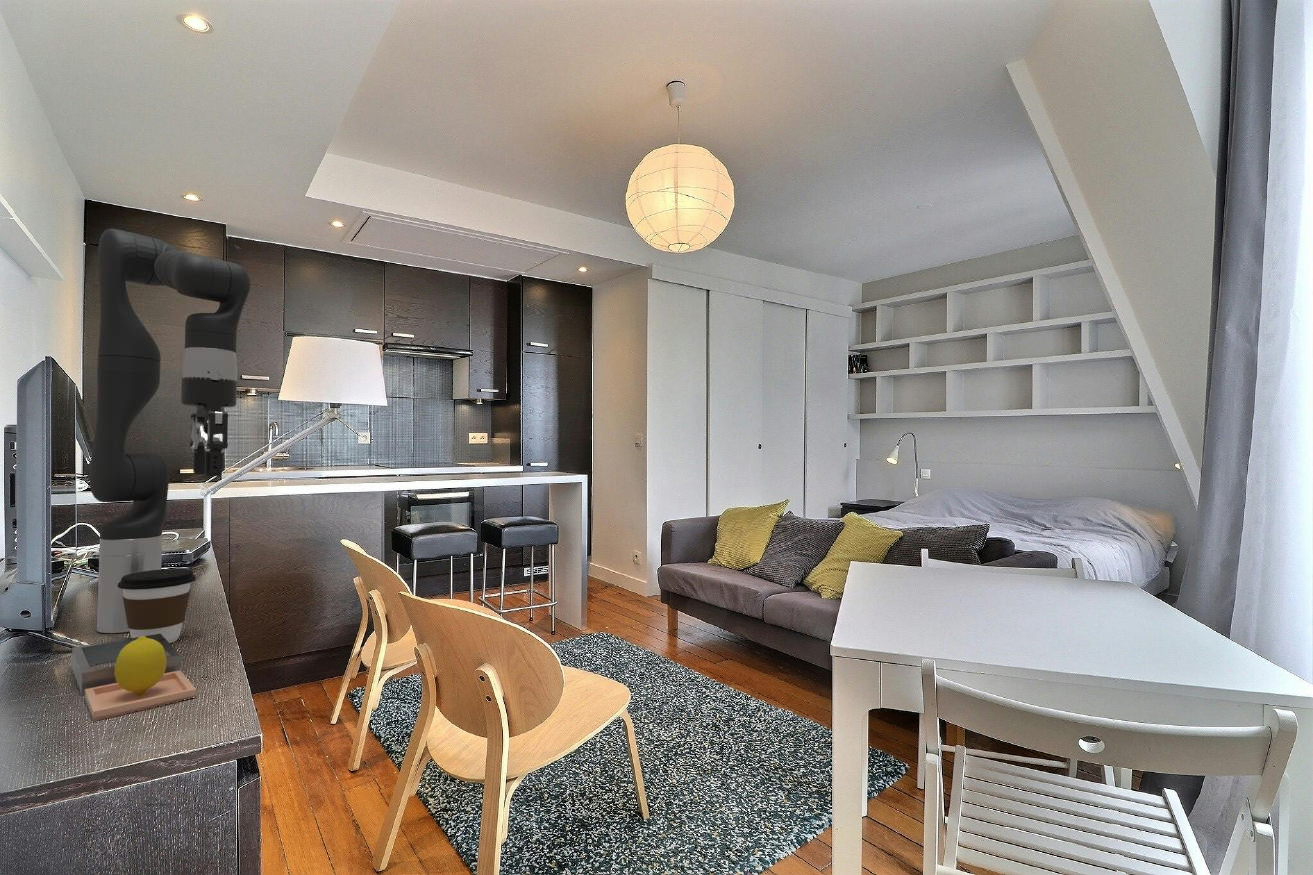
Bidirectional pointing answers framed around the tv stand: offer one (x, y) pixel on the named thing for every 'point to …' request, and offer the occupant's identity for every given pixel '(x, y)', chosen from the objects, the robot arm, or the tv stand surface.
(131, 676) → the lemon
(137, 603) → the coffee cup
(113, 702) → the tray
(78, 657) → the grey open box
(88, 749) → the tv stand surface
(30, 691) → the tv stand surface
